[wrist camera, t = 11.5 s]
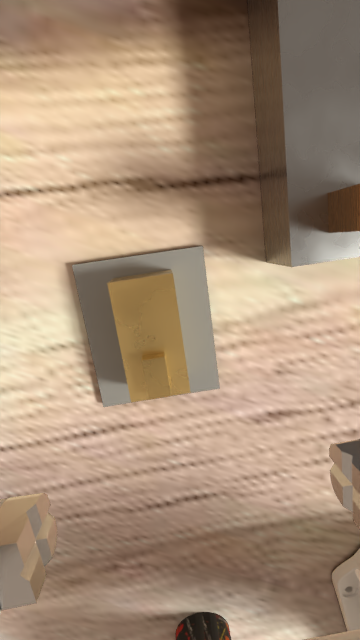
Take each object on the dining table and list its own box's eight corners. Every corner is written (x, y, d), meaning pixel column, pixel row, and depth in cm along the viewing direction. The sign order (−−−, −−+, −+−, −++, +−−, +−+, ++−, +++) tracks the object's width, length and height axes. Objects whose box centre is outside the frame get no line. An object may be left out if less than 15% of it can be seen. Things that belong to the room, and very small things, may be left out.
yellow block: (187, 376, 27) (192, 399, 23) (134, 384, 26) (129, 409, 23) (171, 269, 24) (173, 274, 20) (113, 278, 24) (104, 285, 20)
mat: (218, 385, 28) (219, 388, 27) (104, 403, 27) (103, 407, 27) (201, 245, 25) (202, 246, 24) (74, 264, 24) (71, 265, 24)
